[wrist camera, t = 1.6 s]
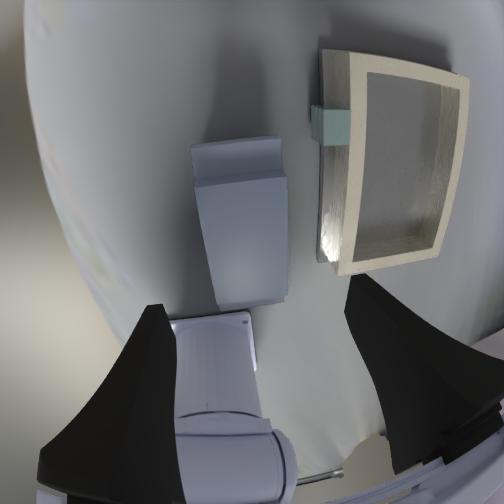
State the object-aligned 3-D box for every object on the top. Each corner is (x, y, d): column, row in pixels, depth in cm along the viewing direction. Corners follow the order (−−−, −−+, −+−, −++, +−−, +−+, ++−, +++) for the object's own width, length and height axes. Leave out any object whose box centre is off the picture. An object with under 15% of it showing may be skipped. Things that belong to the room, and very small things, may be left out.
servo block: (271, 258, 22) (287, 313, 17) (217, 266, 21) (221, 323, 17) (263, 121, 16) (286, 143, 11) (195, 129, 15) (188, 154, 11)
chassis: (426, 240, 23) (442, 257, 21) (306, 260, 22) (316, 282, 20) (452, 72, 14) (476, 77, 12) (305, 48, 13) (321, 45, 11)
